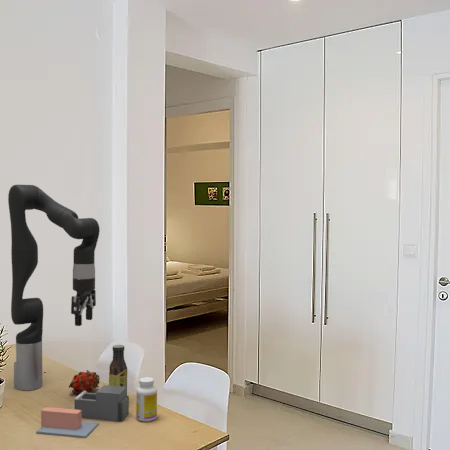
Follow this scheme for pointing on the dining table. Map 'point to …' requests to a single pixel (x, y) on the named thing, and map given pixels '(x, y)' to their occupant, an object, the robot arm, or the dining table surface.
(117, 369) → the sauce bottle
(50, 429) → the rubber mat
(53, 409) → the pink rectangular block
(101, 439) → the dining table surface
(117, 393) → the dispenser
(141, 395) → the supplement bottle
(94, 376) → the dragon fruit
